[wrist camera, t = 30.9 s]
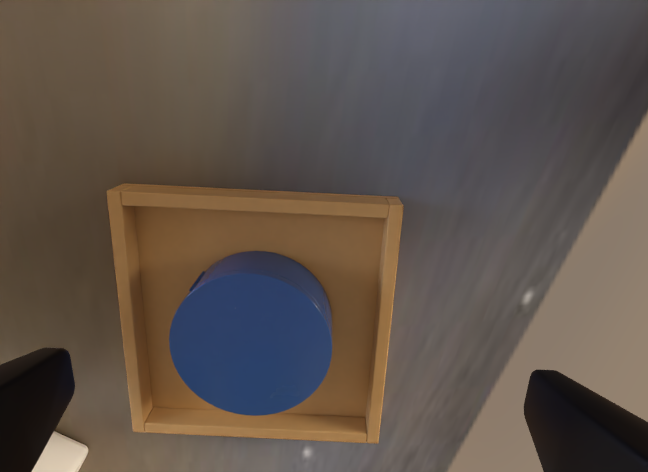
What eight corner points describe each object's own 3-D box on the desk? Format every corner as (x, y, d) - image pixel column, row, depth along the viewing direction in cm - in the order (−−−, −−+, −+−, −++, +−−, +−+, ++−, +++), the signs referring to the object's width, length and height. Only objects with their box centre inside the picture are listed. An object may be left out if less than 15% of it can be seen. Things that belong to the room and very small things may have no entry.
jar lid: (158, 317, 21) (134, 348, 18) (252, 218, 19) (240, 237, 17) (265, 401, 22) (257, 442, 20) (361, 316, 21) (366, 348, 18)
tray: (398, 196, 19) (404, 205, 18) (375, 421, 23) (378, 444, 21) (123, 182, 19) (105, 190, 18) (145, 410, 23) (132, 432, 21)
